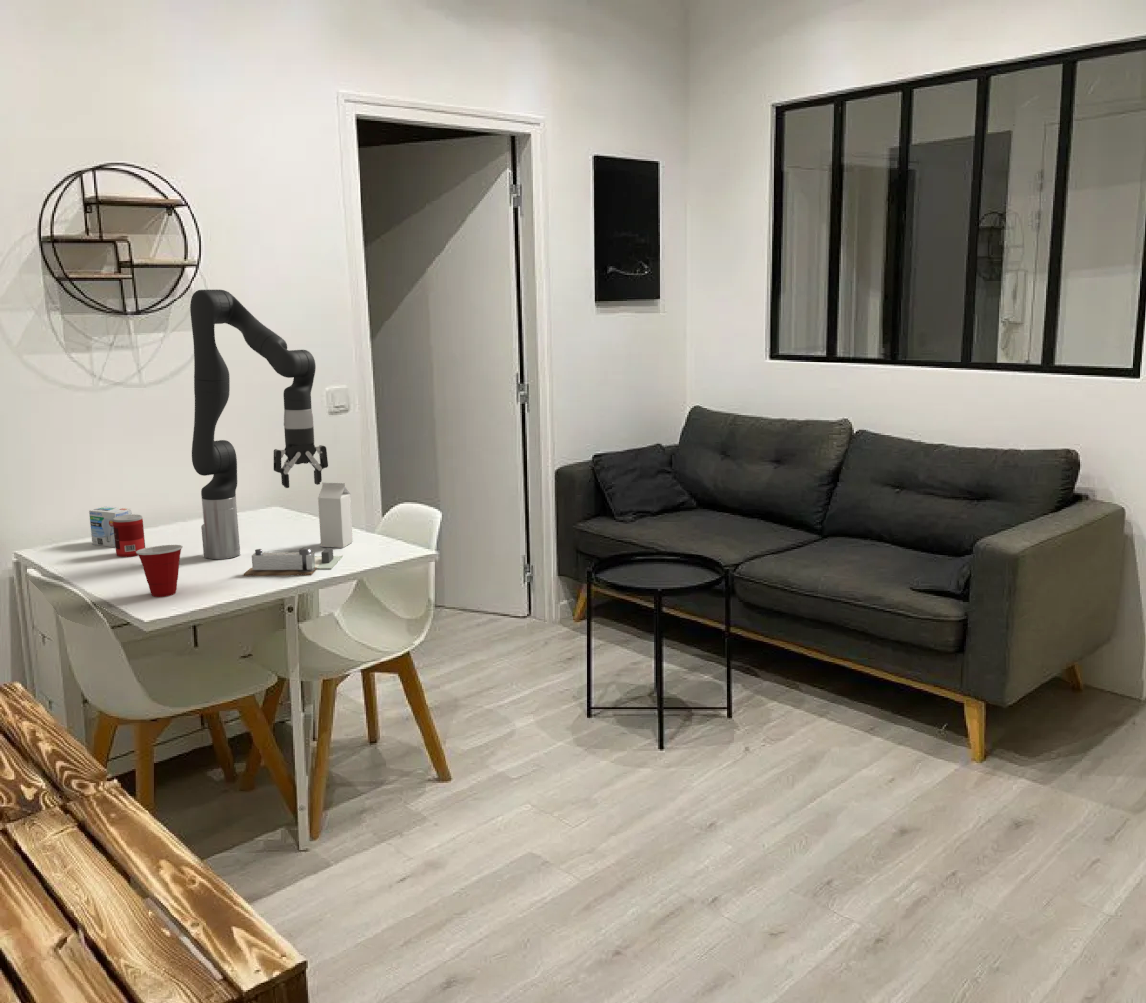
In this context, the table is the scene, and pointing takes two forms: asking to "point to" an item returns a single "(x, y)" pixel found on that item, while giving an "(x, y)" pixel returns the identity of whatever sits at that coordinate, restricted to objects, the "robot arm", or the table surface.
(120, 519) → the canned food
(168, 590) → the plastic cup
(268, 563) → the lock bar
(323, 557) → the block
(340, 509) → the milk carton
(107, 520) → the light bulb box
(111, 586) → the table surface
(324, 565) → the door panel
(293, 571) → the strip
